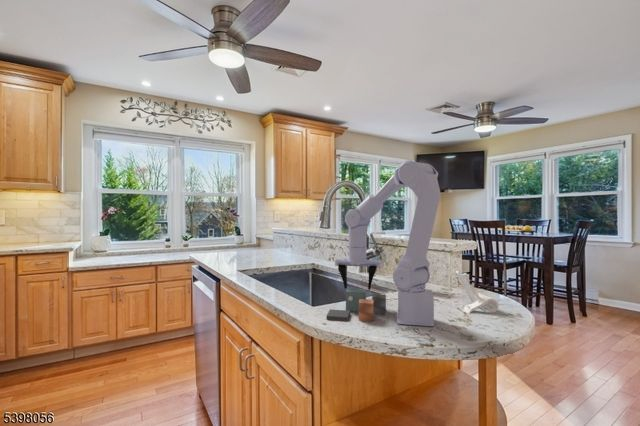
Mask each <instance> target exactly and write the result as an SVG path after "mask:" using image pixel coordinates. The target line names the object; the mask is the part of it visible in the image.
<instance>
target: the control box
mask: <svg viewBox="0 0 640 426" xmlns="http://www.w3.org/2000/svg"><path fill="white" fill-rule="evenodd" d="M360 299H367V289H365V288H348V287H347V289H346V290H345V310H348V311H350V312H354V313H355V312H356V313H359V300H360Z"/></svg>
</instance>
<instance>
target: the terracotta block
mask: <svg viewBox="0 0 640 426" xmlns="http://www.w3.org/2000/svg"><path fill="white" fill-rule="evenodd" d="M374 315H375V314H374V300H372V299H367V298H366V299H360V300H359V312H358V321H362V322H374V318H375V316H374Z"/></svg>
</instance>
